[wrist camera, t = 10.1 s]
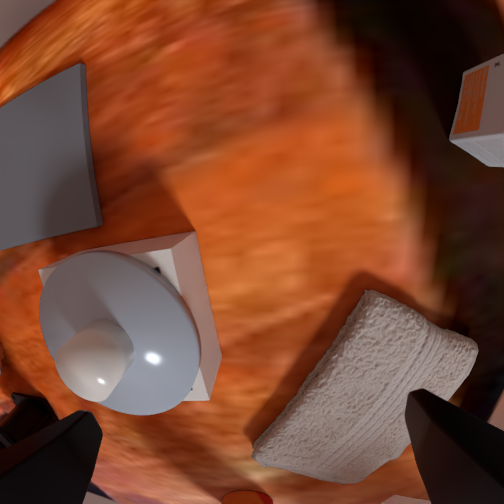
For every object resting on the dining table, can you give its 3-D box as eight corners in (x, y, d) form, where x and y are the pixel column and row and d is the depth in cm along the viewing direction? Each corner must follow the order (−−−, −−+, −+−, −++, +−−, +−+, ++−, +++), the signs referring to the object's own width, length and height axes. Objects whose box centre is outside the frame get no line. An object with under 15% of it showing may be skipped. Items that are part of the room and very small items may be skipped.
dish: (114, 359, 22) (85, 395, 17) (80, 250, 20) (38, 269, 15) (221, 356, 21) (209, 400, 16) (195, 230, 19) (170, 248, 15)
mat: (2, 249, 21) (-4, 251, 20) (-12, 121, 18) (-18, 120, 17) (103, 224, 20) (97, 226, 19) (85, 65, 17) (80, 62, 16)
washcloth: (246, 445, 24) (243, 470, 21) (362, 276, 20) (375, 293, 17) (352, 472, 25) (356, 494, 22) (469, 334, 20) (488, 352, 17)
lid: (83, 400, 18) (56, 435, 14) (30, 263, 15) (-14, 283, 11) (219, 405, 16) (208, 454, 13) (176, 234, 14) (143, 255, 10)
